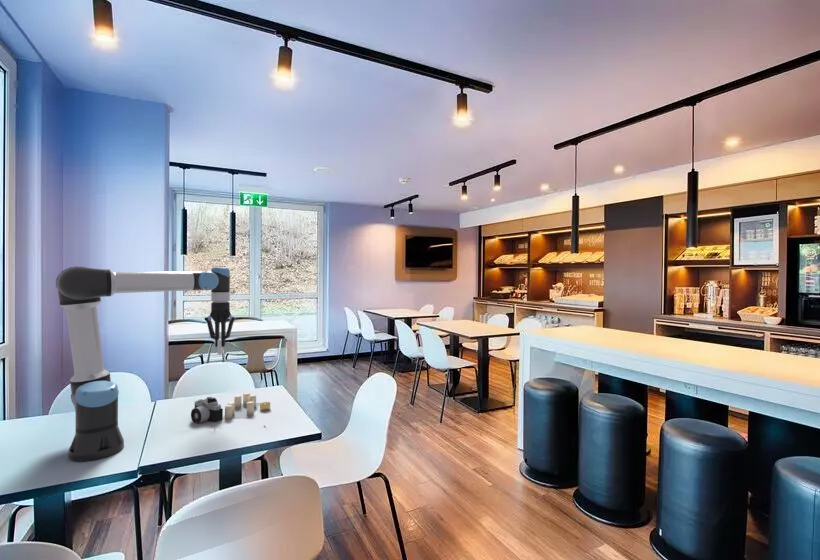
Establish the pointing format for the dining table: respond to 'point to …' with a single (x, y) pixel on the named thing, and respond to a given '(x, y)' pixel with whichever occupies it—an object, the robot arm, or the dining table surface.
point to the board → (241, 407)
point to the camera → (207, 411)
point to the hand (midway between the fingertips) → (220, 353)
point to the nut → (265, 406)
